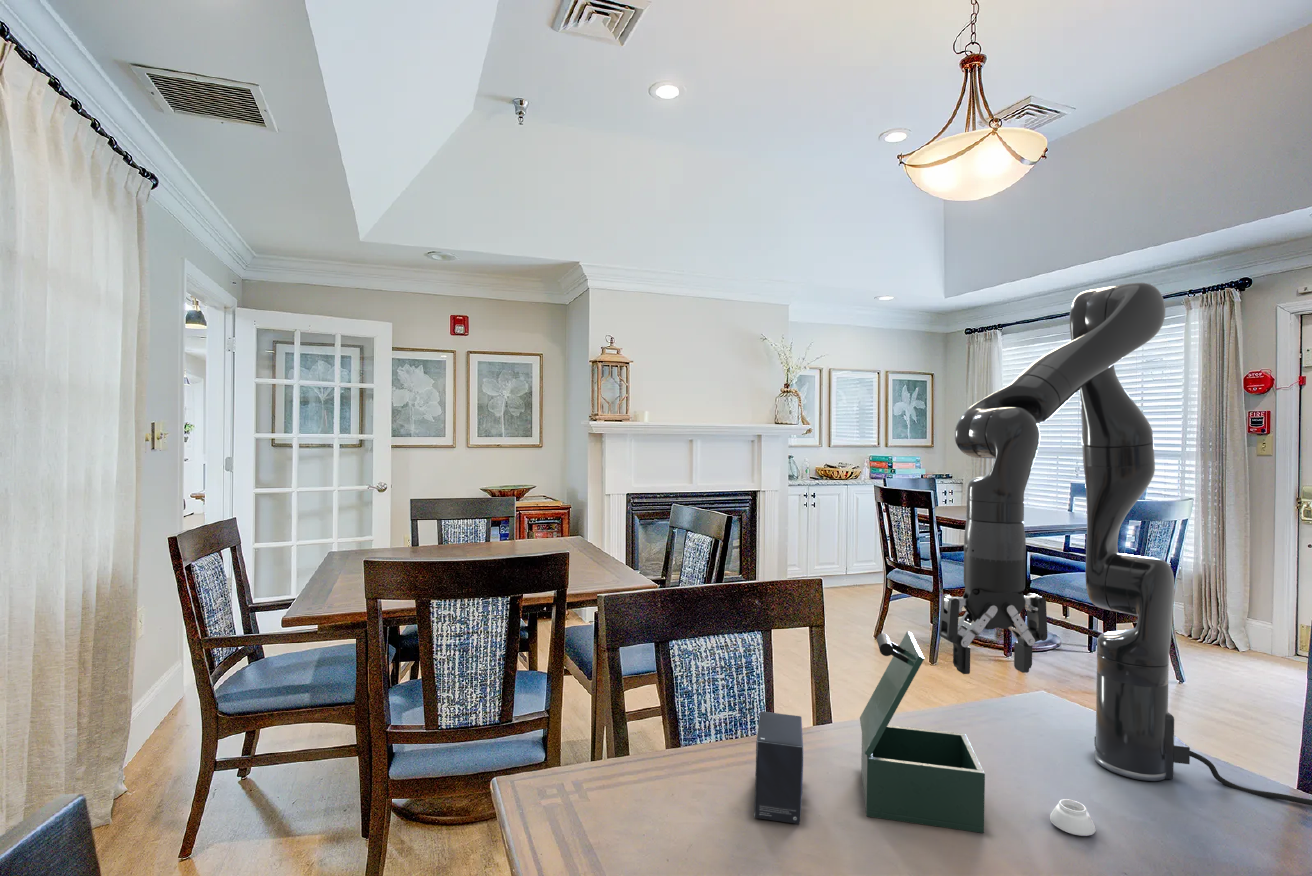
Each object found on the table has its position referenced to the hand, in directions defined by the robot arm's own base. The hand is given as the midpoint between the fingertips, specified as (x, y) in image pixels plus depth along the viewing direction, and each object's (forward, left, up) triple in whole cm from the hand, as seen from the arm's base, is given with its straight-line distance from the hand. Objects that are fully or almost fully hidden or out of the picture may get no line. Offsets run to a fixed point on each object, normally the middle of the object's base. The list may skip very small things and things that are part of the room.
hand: (992, 671), depth 91 cm
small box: (+28, +5, -20) cm, 35 cm away
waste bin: (+9, -1, -19) cm, 22 cm away
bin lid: (+13, -1, -4) cm, 14 cm away
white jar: (-10, +1, -20) cm, 22 cm away
